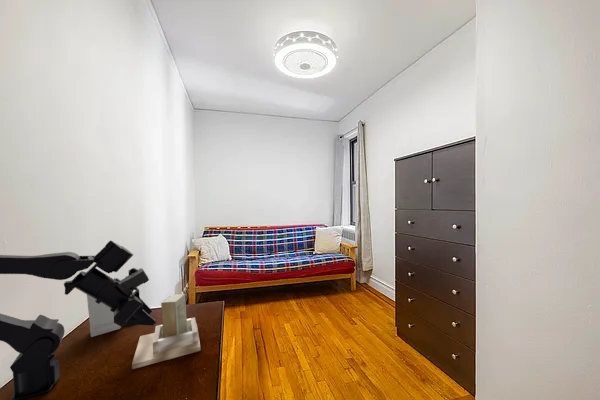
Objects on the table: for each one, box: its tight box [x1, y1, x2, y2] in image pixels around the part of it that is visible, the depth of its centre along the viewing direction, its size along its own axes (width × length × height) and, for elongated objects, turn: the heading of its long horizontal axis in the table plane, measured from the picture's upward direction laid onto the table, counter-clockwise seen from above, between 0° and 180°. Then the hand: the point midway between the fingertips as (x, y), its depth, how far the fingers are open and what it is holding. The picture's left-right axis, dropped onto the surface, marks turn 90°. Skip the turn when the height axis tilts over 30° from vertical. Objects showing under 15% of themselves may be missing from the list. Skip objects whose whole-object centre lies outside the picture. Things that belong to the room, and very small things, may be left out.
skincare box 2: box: [160, 293, 188, 338], centre depth 76 cm, size 6×4×12 cm
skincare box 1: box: [86, 294, 122, 338], centre depth 87 cm, size 8×6×15 cm
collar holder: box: [131, 317, 202, 370], centre depth 76 cm, size 16×16×4 cm
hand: (152, 317), depth 73 cm, fingers open, 9 cm apart
